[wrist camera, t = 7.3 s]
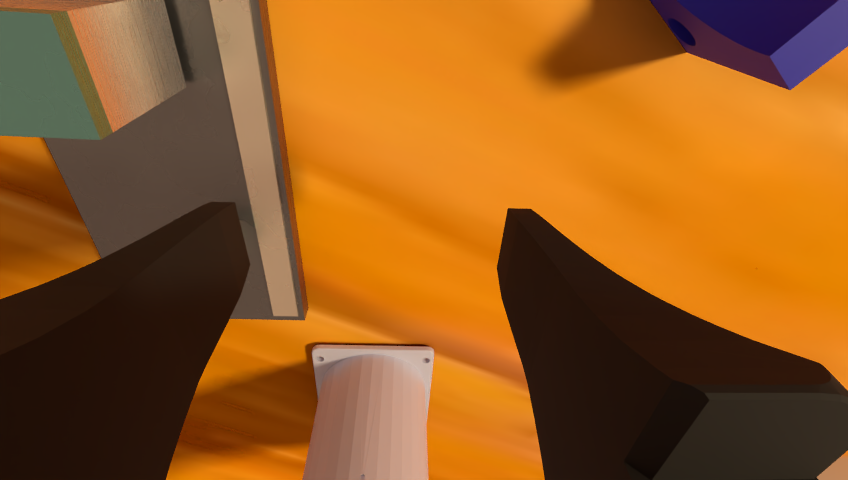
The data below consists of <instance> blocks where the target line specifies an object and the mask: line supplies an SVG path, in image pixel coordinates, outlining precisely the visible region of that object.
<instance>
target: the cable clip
mask: <svg viewBox="0 0 848 480" xmlns="http://www.w3.org/2000/svg"><path fill="white" fill-rule="evenodd" d="M650 1H651V3H652V4H653V6H654V7H655V8H656V10H657V11H658V13H659V14H660V15H661V17H662V18H663V20H664V21H665V22H666V24H667V25H668V26H669V28H670V29H671V31H672V32H673V33H674V35H675V36H676V38H677V39H678V40H679V42H680V43H681V45H682V46H683V47H684V49H685V50H686V52H687V53H690V54H693V55H696V56H698V57H701V58H704V59H707V60H709V61H712V62H715V63H717V64H720V65H723V66H726V67H728V68H731V69H734V70H737V71H739V72H742V73H745V74H747V75H750V76H753V77H756V78H758V79H761V80H764V81H766V82H769V83H772V84H775V85H777V86H780V87H783V88H786V89H788V90H791V89H792V88H794V87H795V86H796V85H798V84H799V83H800V82H801V81H803V80H804V79H805V78H807V77H808V76H809V75H811V74H812V73H813V72H815V71H816V70H817V69H819V68H820V67H821V66H822V65H824V64H825V63H826V62H828V61H829V60H830V59H832V58H833V57H834V56H836V55H837V54H838V53H840V52H841V51H842V50H843V49H845V48H846V47H847V46H848V0H650Z"/></svg>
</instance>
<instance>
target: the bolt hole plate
mask: <svg viewBox="0 0 848 480" xmlns="http://www.w3.org/2000/svg"><path fill="white" fill-rule="evenodd" d="M164 2H165V6H166V10H167V14H168V18H169V21H170V25H171V29H172V33H173V37H174V41H175V45H176V49H177V52H178V56H179V60H180V64H181V68H182V72H183V76H184V80H185V84H186V88H185V89H183V90H181V91H180V92H178V93H176V94H175V95H173V96H172V97H170V98H168V99H167V100H165V101H163V102H162V103H160V104H159V105H157V106H155V107H154V108H152V109H150V110H149V111H147V112H146V113H144V114H142V115H141V116H139V117H137V118H136V119H134V120H132V121H131V122H129V123H128V124H126V125H124V126H123V127H121V128H119V129H118V130H116V131H115V132H113V133H111V134H110V135H108V136H106V137H105V138H103V139H102V140H89V139H67V138H45V137H44V139H45V142H46V144H47V146H48V148H49V150H50V152H51V154H52V156H53V158H54V160H55V162H56V164H57V167H58V169H59V171H60V173H61V175H62V177H63V179H64V181H65V183H66V185H67V187H68V189H69V191H70V194H71V196H72V198H73V200H74V202H75V204H76V206H77V208H78V210H79V212H80V214H81V216H82V219H83V221H84V223H85V225H86V227H87V229H88V231H89V233H90V235H91V237H92V239H93V241H94V243H95V246H96V248H97V250H98V252H99V254H100V256H101V258H104V257H106V256H108V255H110V254H112V253H114V252H116V251H118V250H120V249H122V248H123V247H125V246H127V245H129V244H131V243H133V242H135V241H137V240H139V239H141V238H143V237H145V236H147V235H148V234H150V233H152V232H154V231H156V230H158V229H159V228H161V227H163V226H165V225H167V224H168V223H170V222H172V221H174V220H176V219H178V218H179V217H181V216H183V215H185V214H187V213H188V212H190V211H192V210H194V209H196V208H198V207H200V206H202V205H204V204H207V203H209V202H235V204H236V208H237V212H238V216H239V221H240V225H241V229H242V233H243V237H244V241H245V245H246V249H247V253H248V257H249V261H250V267H249V271H248V274H247V277H246V281H245V284H244V287H243V290H242V293H241V296H240V298H239V300H238V302H237V304H236V306H235V308H234V311H233V313H232V315H231V317H230V319H271V320H305V318H306V314H307V311H308V304H307V296H306V289H305V281H304V274H303V267H302V259H301V252H300V244H299V237H298V230H297V222H296V215H295V208H294V200H293V193H292V185H291V178H290V171H289V163H288V156H287V148H286V141H285V134H284V126H283V119H282V111H281V104H280V97H279V89H278V82H277V74H276V67H275V60H274V52H273V45H272V37H271V30H270V23H269V15H268V8H267V0H164Z"/></svg>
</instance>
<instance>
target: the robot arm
mask: <svg viewBox="0 0 848 480" xmlns="http://www.w3.org/2000/svg"><path fill="white" fill-rule="evenodd" d="M249 267H250V261H249V257H248V253H247V249H246V245H245V241H244V237H243V233H242V229H241V225H240V221H239V216H238V212H237V208H236V204H235V202H209V203H207V204H204V205H202V206H200V207H198V208H196V209H194V210H192V211H190V212H188V213H187V214H185V215H183V216H181V217H179V218H178V219H176V220H174V221H172V222H170V223H168V224H167V225H165V226H163V227H161V228H159V229H158V230H156V231H154V232H152V233H150V234H148V235H147V236H145V237H143V238H141V239H139V240H137V241H135V242H133V243H131V244H129V245H127V246H125V247H123V248H122V249H120V250H118V251H116V252H114V253H112V254H110V255H108V256H106V257H104V258H102V259H100V260H98V261H95V262H93V263H91V264H89V265H87V266H85V267H82V268H80V269H78V270H76V271H73V272H71V273H69V274H66V275H64V276H61V277H59V278H57V279H54V280H52V281H49V282H47V283H44V284H42V285H39V286H37V287H34V288H31V289H28V290H25V291H23V292H20V293H17V294H14V295H11V296H8V297H6V298H3V299H0V480H166V476H167V473H168V470H169V466H170V463H171V460H172V457H173V454H174V451H175V448H176V445H177V442H178V439H179V436H180V433H181V430H182V427H183V424H184V421H185V418H186V415H187V412H188V410H189V407H190V404H191V401H192V399H193V396H194V393H195V390H196V388H197V385H198V382H199V380H200V378H201V376H202V373H203V371H204V369H205V367H206V365H207V363H208V361H209V359H210V357H211V355H212V353H213V351H214V349H215V347H216V345H217V343H218V341H219V339H220V337H221V335H222V333H223V331H224V329H225V327H226V325H227V323H228V321H229V319H230V317H231V315H232V313H233V311H234V308H235V306H236V304H237V302H238V300H239V298H240V296H241V293H242V290H243V287H244V284H245V281H246V277H247V274H248V271H249ZM497 272H498V278H499V285H500V291H501V296H502V301H503V304H504V307H505V311H506V314H507V317H508V320H509V324H510V327H511V330H512V333H513V336H514V339H515V343H516V346H517V349H518V352H519V355H520V358H521V362H522V365H523V368H524V372H525V376H526V379H527V383H528V388H529V393H530V398H531V403H532V408H533V413H534V418H535V424H536V429H537V435H538V440H539V446H540V452H541V457H542V464H543V470H544V476H545V480H818V479H817V476H818V475H819V474H821V473H822V472H823V471H824V470H825V469H826V468H828V467H829V466H830V465H831V464H832V463H833V462H834V461H836V460H837V459H838V458H839V457H840V456H842V455H843V454H844V453H845V452H846V451H847V450H848V391H847V390H846V389H845V388H844V387H843V386H842V385H841V384H840V382H839V381H838V380H837V379H836V378H835V377H834V376H833V375H832V374H831V373H830V372H829V371H828V370H827V369H826V368H825V367H824V366H823V365H821V364H820V363H817V362H814V361H812V360H809V359H806V358H803V357H800V356H797V355H794V354H791V353H788V352H785V351H783V350H780V349H777V348H774V347H771V346H768V345H765V344H762V343H759V342H757V341H754V340H751V339H749V338H746V337H744V336H741V335H739V334H736V333H734V332H731V331H729V330H726V329H724V328H721V327H719V326H716V325H714V324H712V323H710V322H707V321H705V320H703V319H700V318H698V317H696V316H694V315H692V314H689V313H687V312H685V311H683V310H681V309H679V308H677V307H675V306H673V305H671V304H669V303H667V302H665V301H663V300H661V299H659V298H657V297H655V296H654V295H652V294H650V293H648V292H646V291H645V290H643V289H641V288H639V287H638V286H636V285H634V284H633V283H631V282H629V281H628V280H626V279H624V278H623V277H621V276H619V275H618V274H616V273H615V272H613V271H612V270H610V269H609V268H607V267H606V266H604V265H603V264H601V263H600V262H599V261H597V260H596V259H594V258H593V257H591V256H590V255H589V254H587V253H586V252H585V251H583V250H582V249H581V248H579V247H578V246H577V245H576V244H574V243H573V242H572V241H570V240H569V239H568V238H567V237H565V236H564V235H563V234H562V233H560V232H559V231H558V230H557V229H556V228H554V227H553V226H552V225H551V224H549V223H548V222H547V221H546V220H545V219H543V218H542V217H541V216H539V215H538V214H537V213H536V212H534V211H533V210H531V209H512V208H508V211H507V216H506V222H505V227H504V233H503V238H502V244H501V249H500V254H499V260H498V265H497ZM319 356H320V357H319ZM312 359H313V366H314V373H315V380H316V387H317V394H318V405H317V410H316V415H315V420H314V425H313V430H312V435H311V440H310V445H309V450H308V455H307V460H306V465H305V470H304V474H303V479H302V480H428V456H427V429H426V423H427V414H428V405H429V397H430V388H431V379H432V370H433V361H434V350H433V349H432V348H431V347H427V346H373V345H316V346H314V347H313V349H312Z"/></svg>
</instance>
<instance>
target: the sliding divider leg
mask: <svg viewBox="0 0 848 480" xmlns="http://www.w3.org/2000/svg"><path fill="white" fill-rule="evenodd" d="M185 88H186V84H185V80H184V76H183V72H182V68H181V64H180V60H179V56H178V52H177V49H176V45H175V41H174V37H173V33H172V29H171V25H170V21H169V18H168V14H167V10H166V6H165V2H164V0H0V136H22V137H45V138H67V139H89V140H102V139H103V138H105V137H106V136H108V135H110V134H111V133H113V132H115V131H116V130H118V129H119V128H121V127H123V126H124V125H126V124H128V123H129V122H131V121H132V120H134V119H136V118H137V117H139V116H141V115H142V114H144V113H146V112H147V111H149V110H150V109H152V108H154V107H155V106H157V105H159V104H160V103H162V102H163V101H165V100H167V99H168V98H170V97H172V96H173V95H175V94H176V93H178V92H180V91H181V90H183V89H185Z"/></svg>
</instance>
